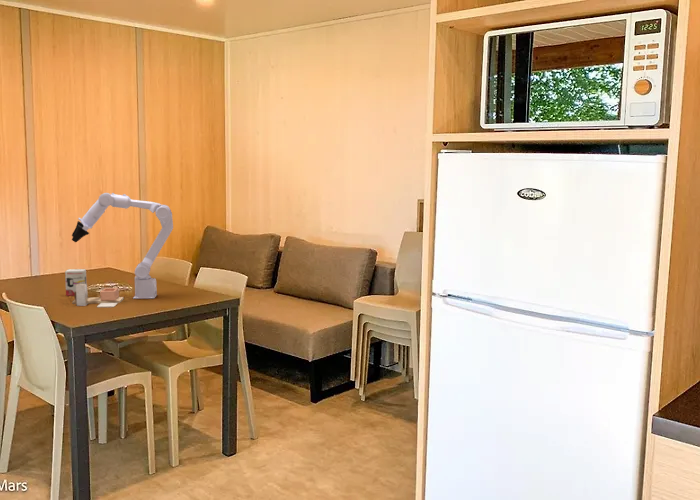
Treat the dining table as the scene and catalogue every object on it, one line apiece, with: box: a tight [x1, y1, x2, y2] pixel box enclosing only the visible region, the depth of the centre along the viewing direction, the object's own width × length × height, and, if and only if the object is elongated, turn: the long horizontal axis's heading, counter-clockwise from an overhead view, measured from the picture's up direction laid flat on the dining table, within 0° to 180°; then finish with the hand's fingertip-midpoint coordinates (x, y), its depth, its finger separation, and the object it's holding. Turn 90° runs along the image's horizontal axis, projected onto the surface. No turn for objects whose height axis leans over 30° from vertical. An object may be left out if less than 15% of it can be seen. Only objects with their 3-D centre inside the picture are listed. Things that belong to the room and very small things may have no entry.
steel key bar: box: [76, 283, 89, 307], centre depth 286 cm, size 4×4×9 cm
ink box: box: [64, 268, 88, 297], centre depth 307 cm, size 9×5×12 cm, turn 101°
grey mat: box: [96, 303, 119, 308], centre depth 286 cm, size 7×7×1 cm
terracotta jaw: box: [99, 287, 120, 301], centre depth 294 cm, size 6×8×4 cm
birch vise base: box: [71, 291, 125, 305], centre depth 294 cm, size 20×8×6 cm, turn 96°
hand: (73, 239), depth 294 cm, fingers open, 7 cm apart
